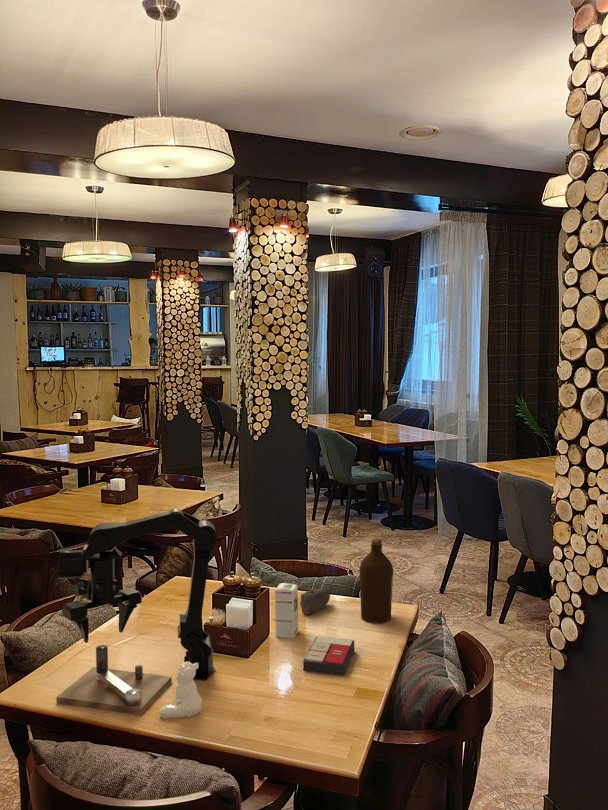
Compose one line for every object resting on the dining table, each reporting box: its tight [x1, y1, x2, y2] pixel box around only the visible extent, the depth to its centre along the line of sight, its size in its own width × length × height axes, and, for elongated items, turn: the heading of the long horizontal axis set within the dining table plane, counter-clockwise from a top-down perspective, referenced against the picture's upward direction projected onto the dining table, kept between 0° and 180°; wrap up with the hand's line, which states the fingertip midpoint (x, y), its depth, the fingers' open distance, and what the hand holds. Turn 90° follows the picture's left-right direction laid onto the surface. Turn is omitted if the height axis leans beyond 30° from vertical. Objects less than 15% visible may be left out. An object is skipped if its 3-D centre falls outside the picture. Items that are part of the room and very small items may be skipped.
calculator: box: [302, 635, 355, 677], centre depth 180 cm, size 11×4×15 cm
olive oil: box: [358, 538, 394, 624], centre depth 210 cm, size 11×11×25 cm
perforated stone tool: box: [299, 588, 331, 616], centre depth 217 cm, size 15×5×7 cm, turn 141°
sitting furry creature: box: [158, 661, 203, 719], centre depth 154 cm, size 10×9×12 cm
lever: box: [95, 644, 141, 705], centre depth 161 cm, size 19×4×8 cm, turn 42°
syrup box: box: [274, 582, 299, 639], centre depth 197 cm, size 6×6×14 cm
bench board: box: [55, 664, 173, 716], centre depth 163 cm, size 22×16×4 cm
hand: (103, 637), depth 167 cm, fingers open, 9 cm apart
